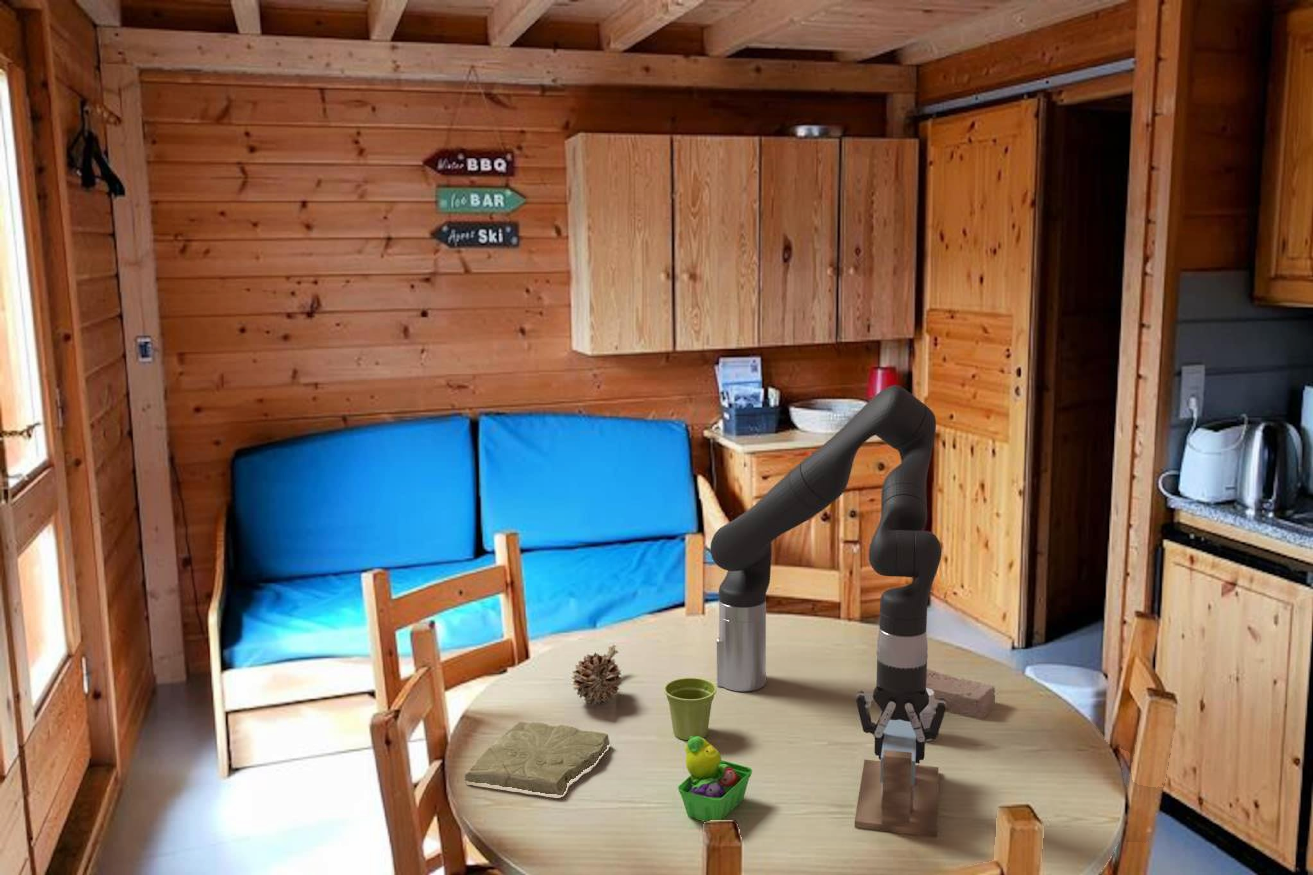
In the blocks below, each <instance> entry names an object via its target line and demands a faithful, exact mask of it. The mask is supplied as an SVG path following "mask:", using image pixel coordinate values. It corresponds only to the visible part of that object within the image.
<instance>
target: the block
mask: <svg viewBox="0 0 1313 875" xmlns="http://www.w3.org/2000/svg"><path fill="white" fill-rule="evenodd" d="M883 733H884V740H883V745H882V752H881V760H880V761H881V771H880V782H883V755H884V750H891V751H901V752H911V753H912V761H911V786H914V782H915V766H916V765H917V763H916V735H915V732H914V730H913V728H912V725H911V722H908V721H903V720H889V722H888V724H887V726H886V728H885V730H884V732H883Z"/></svg>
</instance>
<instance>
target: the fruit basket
mask: <svg viewBox="0 0 1313 875" xmlns="http://www.w3.org/2000/svg"><path fill="white" fill-rule="evenodd" d="M685 752H686V758H685V766H686V768H687V772H688V773H689V774H690V775H689V776H688V777H687V778H686V779H685V780H684V781H682V782H681V784H679V785H678V786H677V790H678V792H679V794H680V796H681V798H682V802H683V806H684V808H685V811H686V814H687V817H688V818H691V817H694V819H695V818H696V820H697V819H698V821H701V820H704V821H710V820H721V821H722V818H723V819H725V818H726V817H727V815H729V814H730V812H731V811H733V810H734V809H735V808H736V807H737V805H738V804H740V803H741V802H742V801H743V800H744V798H745V794H746V790H747V788H748V784H749V780H750V778H751V776H752V774H753V769H752V768H750V767H749V766H744V765H741V764H737V763H734V762H730V761H726V760H723V759H722V755H721V753H720V752H719V751H718V749H717V748H716V747H715V746H713V745H712V744H711V743H709V742H708V741H707V739H705V737H704V738H701V737H699V736H696V737H694V736H691V737H690V739H688V740H687V742H686V746H685ZM704 821H703V822H704Z"/></svg>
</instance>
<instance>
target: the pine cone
mask: <svg viewBox="0 0 1313 875" xmlns="http://www.w3.org/2000/svg"><path fill="white" fill-rule="evenodd" d="M616 647H617V645H615V644H613V645H611V646H609V647H608V651H607V654H606V653H605V654H603V655H600V654H599V653H597V652H596V651H595V652H594V654H592V655H591V654H587V653H586V655H584V657H583V661H582V660H578V664H575V669H576V670H573V671H572V673H573V674H572V677H571V679H572V680H573V683H572V687H573V686H574V687H573V691H574V690H577V693H576V694H577V696H579V697H578V698H579V699H580V698H582V697H584V701H585V702H587V703H588V704H590V703H591V705H592V706H594V705H597V703H598V705H601V702H604V703H607V701H611V699H612V698H611V695H613V696H617V694H618V691H620V688H619V686H621V685H622V677H621V676H620V675H622V673H621V672H622V669H619V666H618V663H616V659H614V658H613V657H615V655H616V654H618V653H619V651H618V650H617V649H616ZM607 699H608V700H607Z"/></svg>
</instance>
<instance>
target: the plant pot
mask: <svg viewBox="0 0 1313 875" xmlns="http://www.w3.org/2000/svg"><path fill="white" fill-rule="evenodd" d="M717 687H718V686H717V684H715V683H713V682H712V681H711V680H708V679H705V678H701V677H681V678H677V679H673V680H671V681H669V682H668V683H666V684H665V685H664V687H663V691H664V694H665V695H666V699H667V701H668V703H669V711H670V718H671V725H672V732H673V735H674V736H675V737H676V738H678V739H681V740H684V741H688V740H689V739H690V737H691V736H694V737H696V736H699V737H701V738H704V739H705V737H706V736H708V735H707V734H708V732H709V725H710V717H711V711H712V703H713V700H714V698H715V695H716V694H717V691H718V688H717Z"/></svg>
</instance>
